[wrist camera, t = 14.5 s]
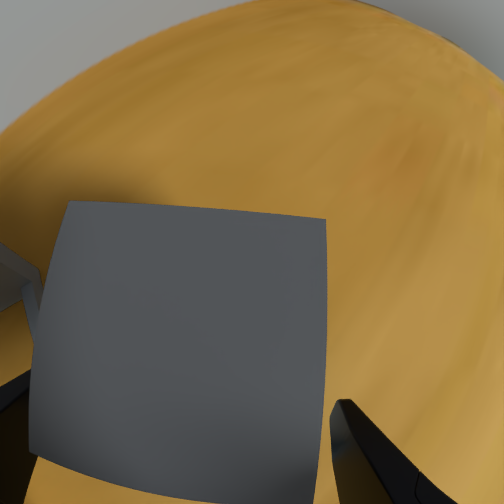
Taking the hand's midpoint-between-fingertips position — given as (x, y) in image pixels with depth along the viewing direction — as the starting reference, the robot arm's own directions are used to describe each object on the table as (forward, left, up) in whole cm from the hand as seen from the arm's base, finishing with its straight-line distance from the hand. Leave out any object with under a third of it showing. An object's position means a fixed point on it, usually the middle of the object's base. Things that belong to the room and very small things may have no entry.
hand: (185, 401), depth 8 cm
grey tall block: (0, -1, -9) cm, 10 cm away
